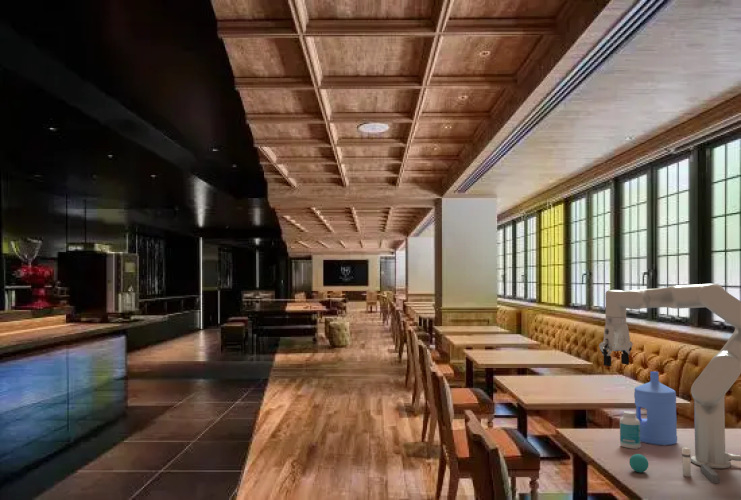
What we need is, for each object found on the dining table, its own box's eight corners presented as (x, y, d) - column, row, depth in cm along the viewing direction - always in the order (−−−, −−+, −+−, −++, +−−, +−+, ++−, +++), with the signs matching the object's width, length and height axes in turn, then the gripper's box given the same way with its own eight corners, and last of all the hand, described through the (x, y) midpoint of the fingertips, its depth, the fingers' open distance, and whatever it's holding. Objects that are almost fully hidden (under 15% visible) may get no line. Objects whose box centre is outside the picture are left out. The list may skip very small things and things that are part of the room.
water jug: (678, 438, 245) (676, 371, 246) (676, 448, 231) (674, 376, 232) (637, 433, 253) (636, 368, 254) (632, 442, 239) (631, 373, 240)
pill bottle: (643, 449, 229) (643, 414, 230) (624, 449, 229) (624, 414, 230) (635, 444, 237) (634, 410, 237) (617, 444, 237) (616, 410, 237)
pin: (689, 474, 200) (689, 447, 200) (691, 476, 198) (691, 449, 198) (681, 473, 201) (681, 447, 201) (683, 476, 198) (683, 449, 199)
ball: (646, 469, 205) (646, 452, 205) (650, 475, 199) (650, 457, 199) (628, 468, 206) (627, 451, 207) (631, 474, 200) (631, 456, 201)
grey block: (707, 471, 203) (706, 464, 203) (719, 483, 191) (718, 475, 192) (700, 471, 204) (700, 463, 204) (712, 482, 192) (712, 475, 192)
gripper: (607, 322, 225) (608, 367, 224) (639, 321, 232) (639, 365, 232) (592, 321, 232) (592, 364, 231) (623, 320, 239) (624, 362, 238)
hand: (616, 364), depth 231 cm, fingers open, 9 cm apart
